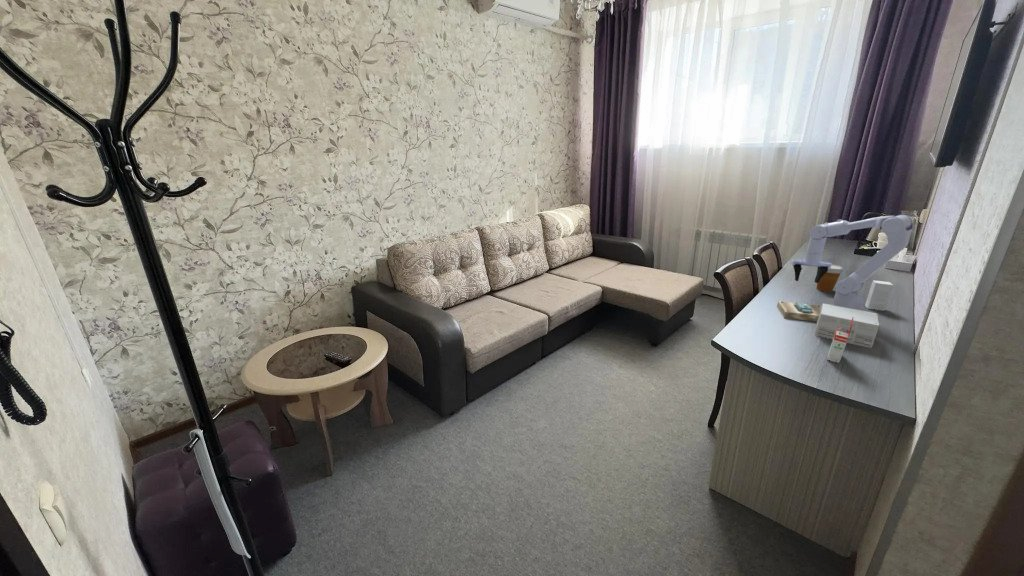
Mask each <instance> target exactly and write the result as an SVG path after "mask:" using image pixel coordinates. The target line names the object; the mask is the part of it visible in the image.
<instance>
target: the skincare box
mask: <svg viewBox="0 0 1024 576" xmlns="http://www.w3.org/2000/svg"><path fill="white" fill-rule="evenodd" d="M871 282H872V283H871V285H870V289H869V292H868V295H867V298H866V300H865V304H864V306H865V307H866V308H867V309H869V310H874V309H875V311H885V310H886V308H887V305H888V302H889V299H890V297H891V293H892V290H893V288H894V284H892V283H891V282H890V281H882V280H874V279H873V280H872V281H871Z"/></svg>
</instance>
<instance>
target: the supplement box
mask: <svg viewBox="0 0 1024 576" xmlns="http://www.w3.org/2000/svg"><path fill="white" fill-rule="evenodd" d="M821 306H822V308H821V311H820V314H819V318H818V321H816V325H815V331H814V336H816V335H817V337H820V336H821V338H825V337H826V338H825V339H829V338H832V339H831V340H833V338H834V335H835V332H836V329H837V327H842V328H846V329H849V328H850V324H851V321H852V318H853V324H852V328H851V331H850V334H849V337H848V340H847V343H846V344H852V345H855V346H860V347H864V348H869V349H872V348H873V345H874V343H875V340H876V336H877V334H878V332H879V331H878V330H879V328H880V323H879V318H878V313H876V312H871V311H866V310H856V309H851V308H845V307H840V306H835V305H832V304H829V303H823V302H822V305H821Z"/></svg>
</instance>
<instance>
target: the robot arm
mask: <svg viewBox="0 0 1024 576" xmlns="http://www.w3.org/2000/svg"><path fill="white" fill-rule="evenodd" d="M869 228H874V229H877V230H882V232H883V233H884V235H885V236H886V237H887V244H885V246H883V247H882V248H881V249H879V251H878V252H876V253H875V254H874V255H873V256H871V257H870V258H869V259H868V260H866V261H865V263H863V264H862V265H861V266H860V267H859V268H858V269H857V270H855V271H854V272H852V273H851V274H850V275H848V276H847V277H846V278H844V279H841V280H839V281H838V280H837V282H836V284H835V286H834V288H835V294H834V298H833V299H832V304H831V305H835V306H840V307H845V308H851V309H856V310H861V311H863V310H862V309H863V306H864V305H865V304H864V302H865V298H864V296H863V295H862V294H859V292H858V291H860V290H862V288H863V287H864V284H865V283H866V282H867V281H868V280H869V278H870V277H871V276H873V275H874V274H875V273H876V272H878V271H879V270H880V269H881V268H882V267H883V266H885V265H886V264H887V263H889V262H890V261H891V260H892V259H893V258H895V257H896V256H897V255H898V254H899V253H900V252H902V251H903V250H904V249H905V248H907V246H908V245H909V242H910V239H911V235H912V232H913V229H914V228H915V225H914V221H913V219H912V217H911V216H909V215H907V214H898V215H884V216H877V217H871V218H867V219H862V220H857V221H856V220H855V221H852V222H850V221H848V220H845V219H844V220H843V219H837V220H836V221H833V222H827V221H826V222H824V223H822V224H817V225H814V226H812V227H811V228H810V229H809V231H808V233H809V241H808V244H807V248H806V252H805V255H804V258H803V259H791V265H792V267H793V271H794V281H795V282H799V279H800V274H801V272H802V269H803V267H802V266H805V267H816V268H817V270H816V274H815V279H814V282H815V284H817V283H818V282H819V280H820V279H821V277H822V276H823V275H824V274H825V273H826V272H827V271H828V268H831V265H832V262H826V261H821V260H822V256H823V253H824V248H825V245H826V241H827V238H831V237H838V236H843V235H848V234H849V233H850V232H851V231H854V230H862V229H869Z"/></svg>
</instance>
